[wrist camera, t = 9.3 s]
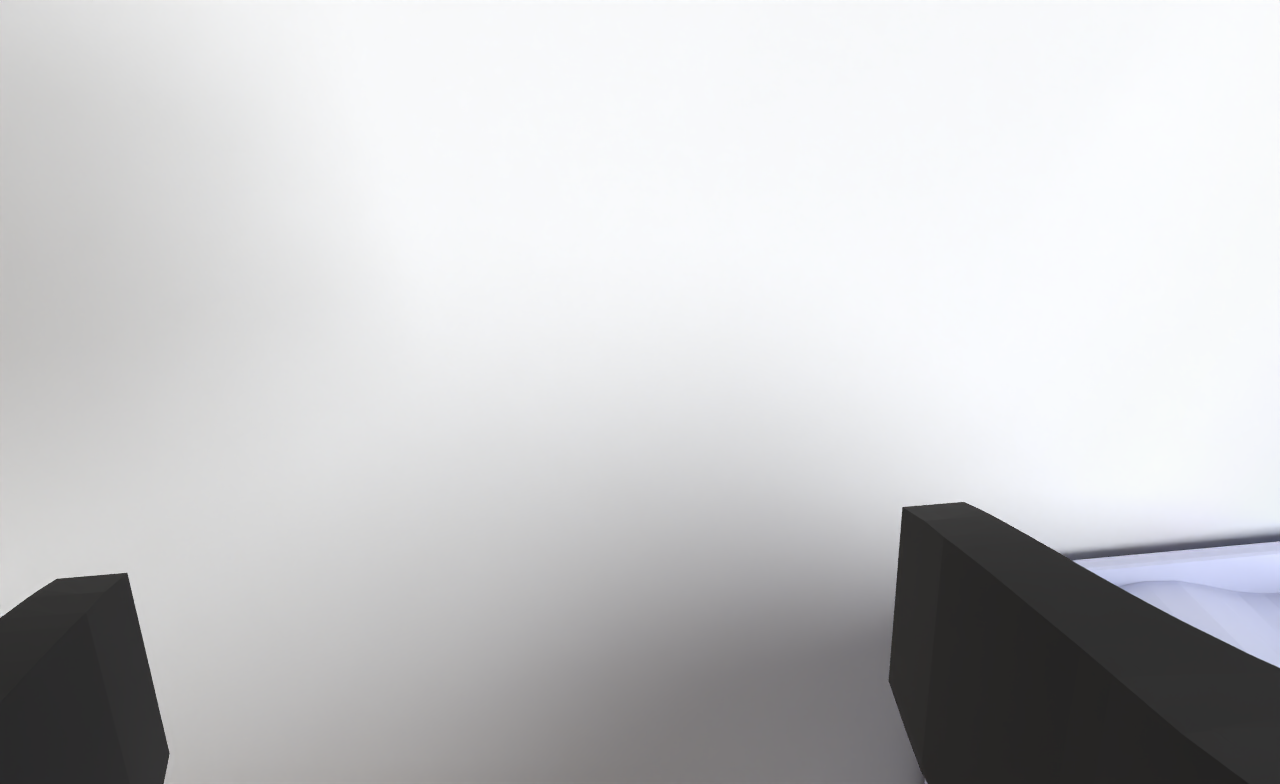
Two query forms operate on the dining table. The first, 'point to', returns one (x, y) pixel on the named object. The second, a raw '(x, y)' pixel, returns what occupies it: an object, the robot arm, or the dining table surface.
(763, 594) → the dining table surface
